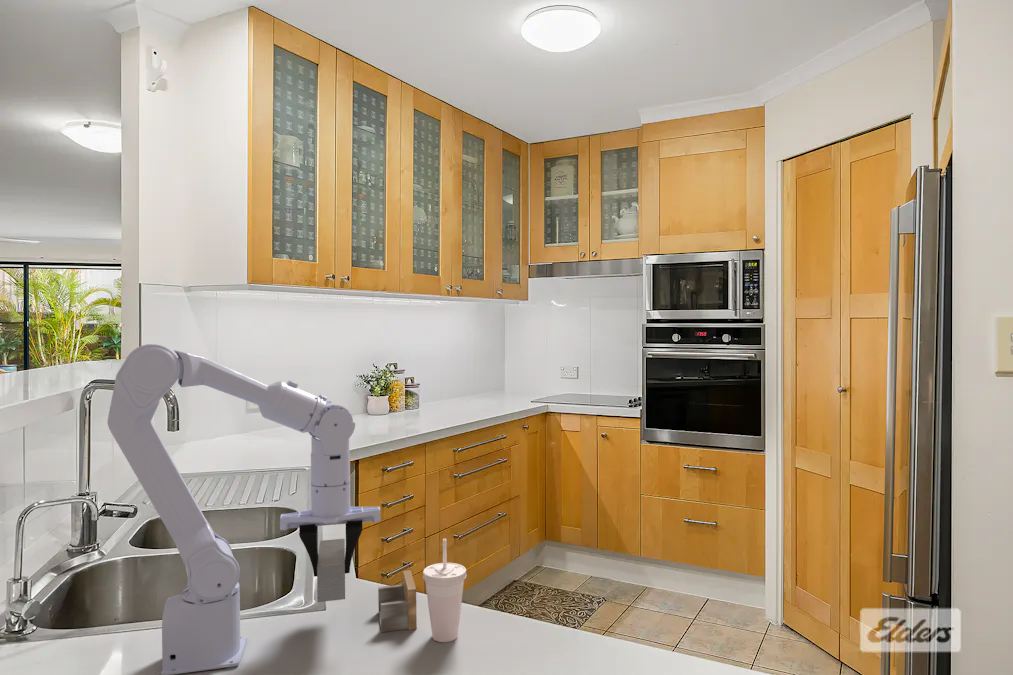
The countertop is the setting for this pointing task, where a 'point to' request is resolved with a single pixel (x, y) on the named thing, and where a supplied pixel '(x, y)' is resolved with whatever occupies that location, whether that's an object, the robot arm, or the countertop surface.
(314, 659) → the countertop surface
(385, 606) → the bracket
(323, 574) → the grey rectangular block
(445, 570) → the smoothie
